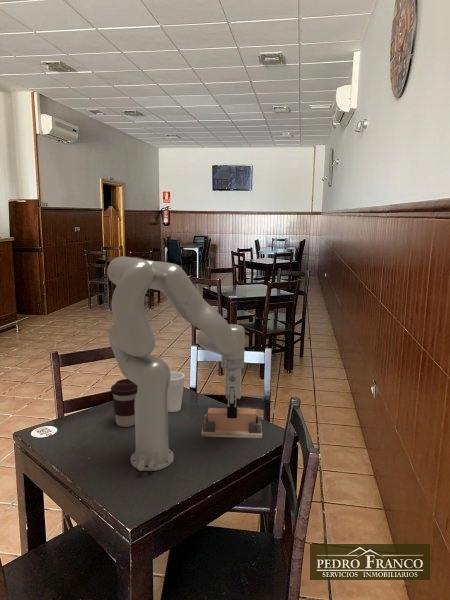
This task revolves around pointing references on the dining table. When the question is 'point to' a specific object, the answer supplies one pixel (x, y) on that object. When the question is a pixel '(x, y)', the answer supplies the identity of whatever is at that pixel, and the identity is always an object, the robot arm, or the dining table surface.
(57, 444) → the dining table surface
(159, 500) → the dining table surface
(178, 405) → the foam cup
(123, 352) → the robot arm
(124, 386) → the coffee cup
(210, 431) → the board
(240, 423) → the orange brown rectangular block
